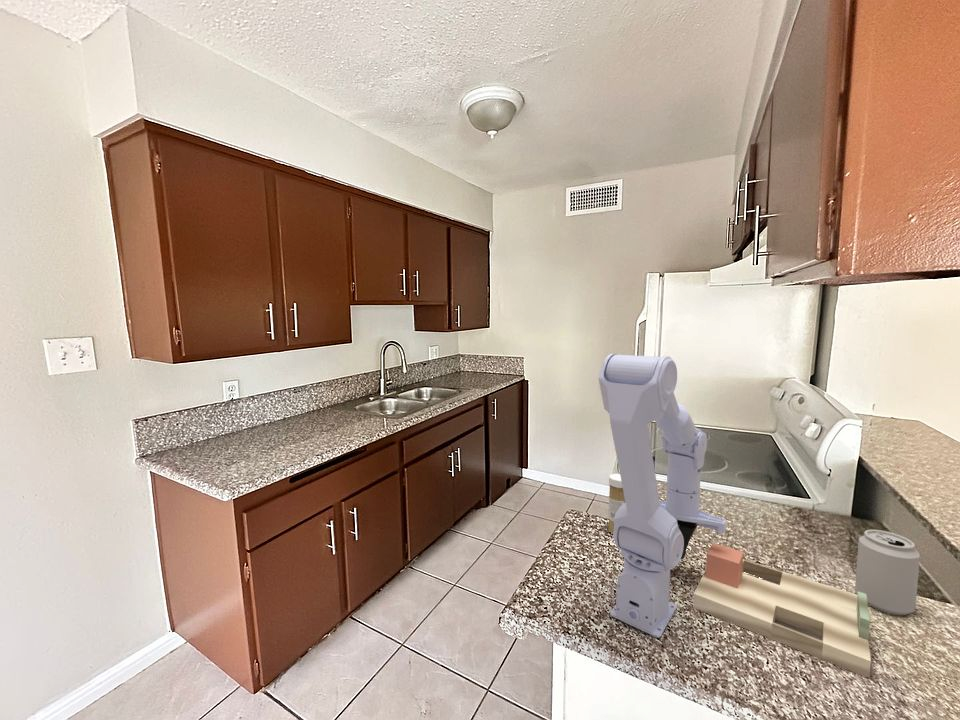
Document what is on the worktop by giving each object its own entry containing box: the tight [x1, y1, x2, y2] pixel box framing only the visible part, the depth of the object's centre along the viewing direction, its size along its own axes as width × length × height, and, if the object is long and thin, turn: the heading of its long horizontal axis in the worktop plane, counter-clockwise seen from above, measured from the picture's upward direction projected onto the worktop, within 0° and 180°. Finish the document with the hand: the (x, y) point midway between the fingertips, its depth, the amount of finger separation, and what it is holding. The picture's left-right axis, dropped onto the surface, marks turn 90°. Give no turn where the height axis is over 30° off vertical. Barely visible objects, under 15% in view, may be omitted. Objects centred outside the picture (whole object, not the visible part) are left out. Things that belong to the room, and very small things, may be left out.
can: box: [854, 529, 921, 616], centre depth 71 cm, size 8×8×12 cm
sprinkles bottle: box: [607, 473, 626, 535], centre depth 96 cm, size 5×5×14 cm
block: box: [705, 542, 745, 589], centre depth 75 cm, size 5×5×4 cm
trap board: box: [692, 558, 872, 679], centre depth 70 cm, size 18×22×6 cm
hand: (680, 556), depth 80 cm, fingers closed
